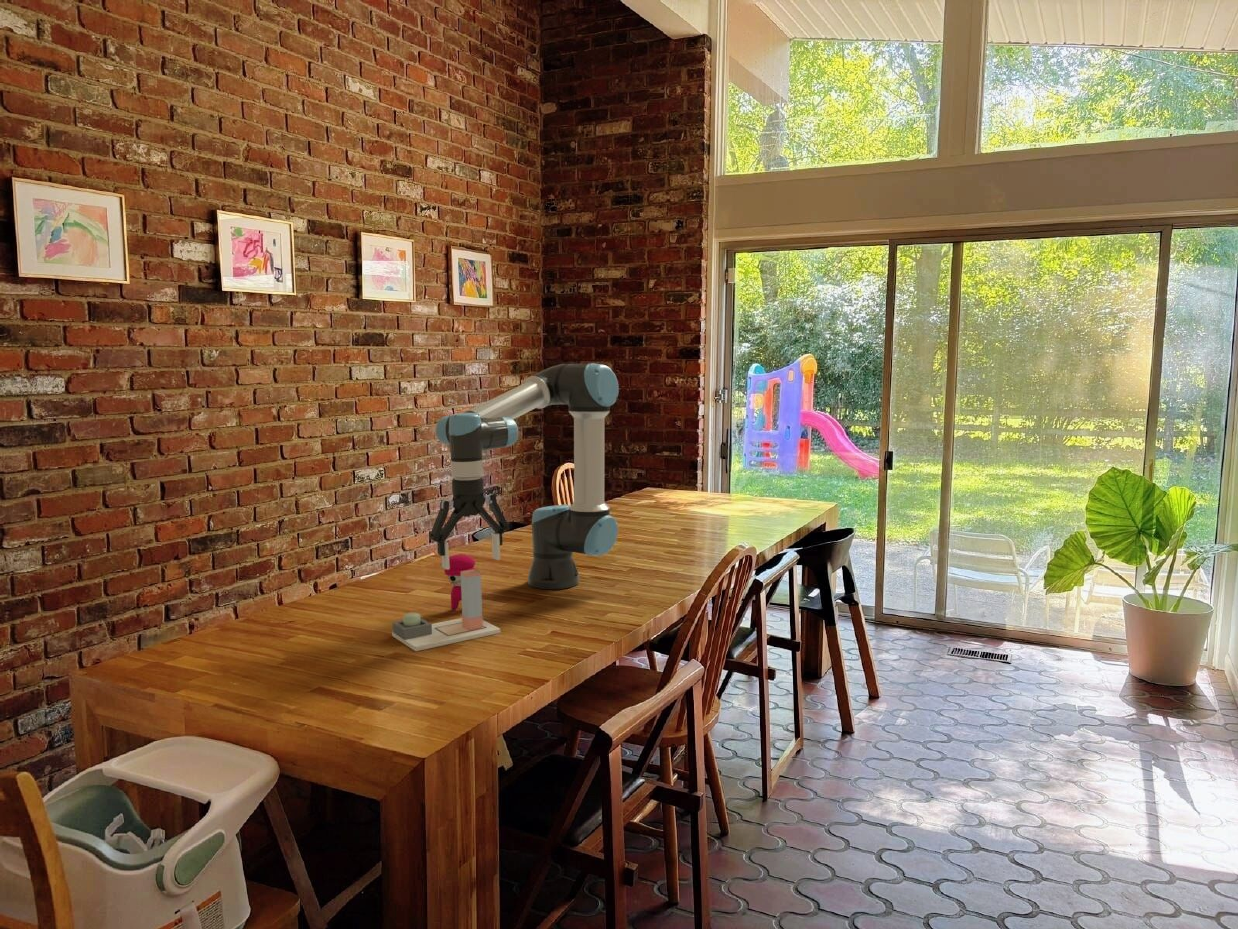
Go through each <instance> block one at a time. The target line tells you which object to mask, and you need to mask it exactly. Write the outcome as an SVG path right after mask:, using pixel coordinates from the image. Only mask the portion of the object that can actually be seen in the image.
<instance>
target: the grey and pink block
mask: <svg viewBox="0 0 1238 929" xmlns="http://www.w3.org/2000/svg"><path fill="white" fill-rule="evenodd" d="M460 572H461V593H462V601H461V618H462V627H463V628H465V629H467V630H469V631H470V630H475V629H479V628H483V620H484V618H483V600H482V597H483V596H482V572H481V571H479V570H477V569H475V568H474V569H472V570H466V571H460Z"/></svg>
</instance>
